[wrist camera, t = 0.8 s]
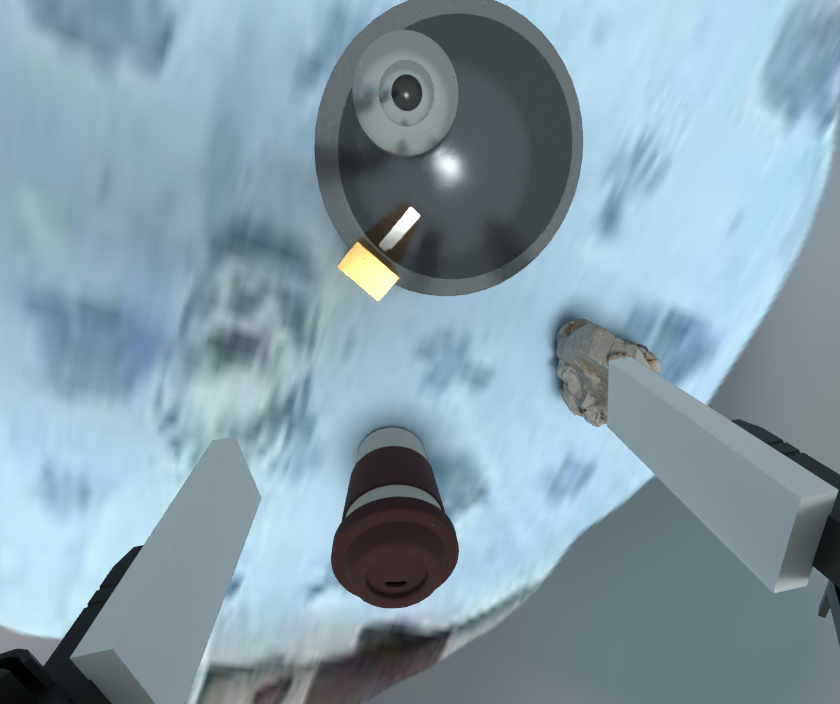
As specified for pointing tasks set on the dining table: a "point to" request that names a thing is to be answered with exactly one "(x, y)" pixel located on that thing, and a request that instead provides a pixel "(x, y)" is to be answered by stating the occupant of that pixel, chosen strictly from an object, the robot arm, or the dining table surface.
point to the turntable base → (419, 6)
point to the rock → (592, 366)
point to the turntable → (462, 165)
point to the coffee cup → (393, 525)
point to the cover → (405, 93)
